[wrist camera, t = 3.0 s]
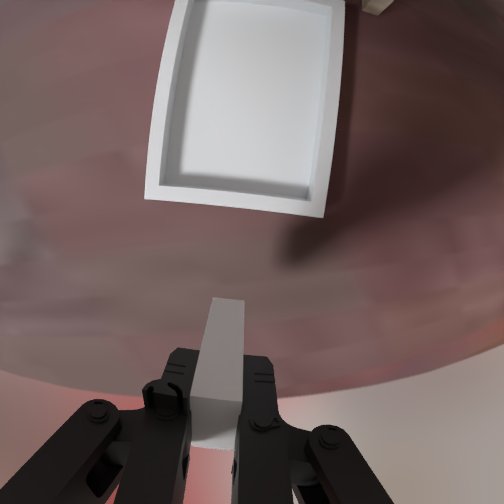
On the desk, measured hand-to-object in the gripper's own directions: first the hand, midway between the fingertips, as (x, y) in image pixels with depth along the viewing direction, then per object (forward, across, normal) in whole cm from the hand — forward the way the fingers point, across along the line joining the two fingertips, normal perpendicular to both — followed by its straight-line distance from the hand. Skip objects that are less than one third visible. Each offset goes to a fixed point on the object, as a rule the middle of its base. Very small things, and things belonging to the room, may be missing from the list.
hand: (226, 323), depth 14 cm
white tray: (+6, 0, +12) cm, 13 cm away
